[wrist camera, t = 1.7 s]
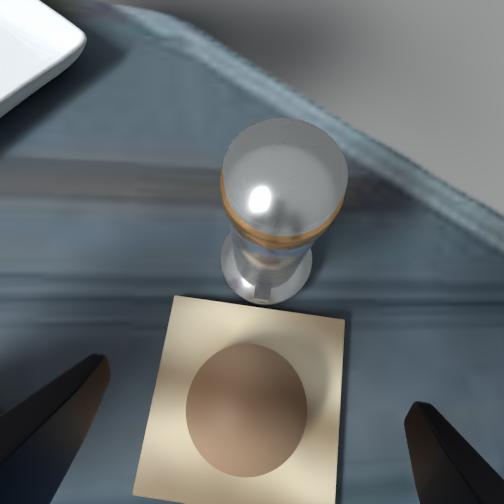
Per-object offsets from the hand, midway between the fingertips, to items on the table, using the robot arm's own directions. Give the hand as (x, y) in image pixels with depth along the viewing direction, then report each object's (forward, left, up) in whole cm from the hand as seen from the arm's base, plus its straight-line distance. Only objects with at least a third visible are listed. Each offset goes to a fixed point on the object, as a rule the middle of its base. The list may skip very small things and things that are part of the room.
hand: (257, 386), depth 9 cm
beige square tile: (-2, 0, -13) cm, 13 cm away
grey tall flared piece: (+7, -1, -13) cm, 15 cm away
